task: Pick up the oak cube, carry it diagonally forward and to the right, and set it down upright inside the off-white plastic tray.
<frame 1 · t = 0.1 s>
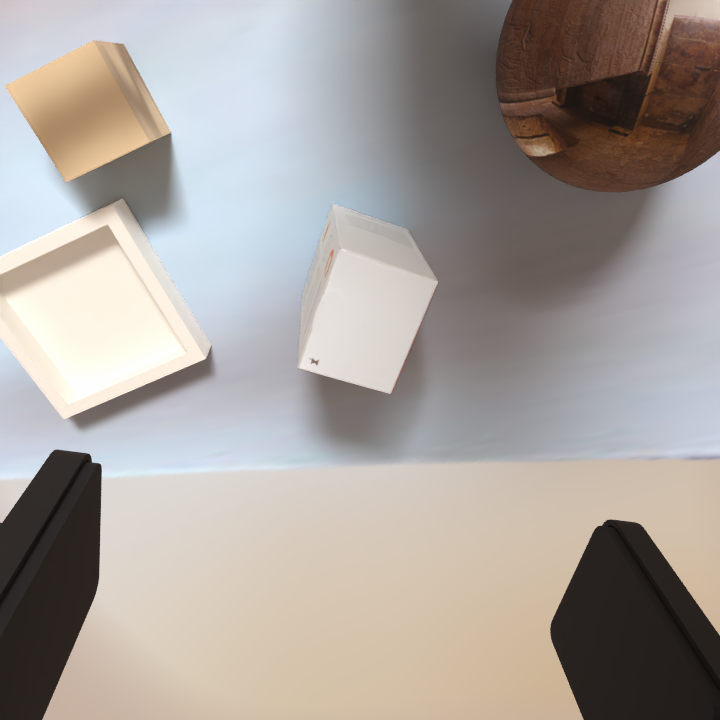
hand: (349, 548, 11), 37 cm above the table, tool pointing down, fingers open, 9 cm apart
small box: (354, 262, 47), on the table
tray: (97, 308, 48), on the table
wooden sphere: (577, 60, 42), on the table
cube: (110, 108, 42), on the table
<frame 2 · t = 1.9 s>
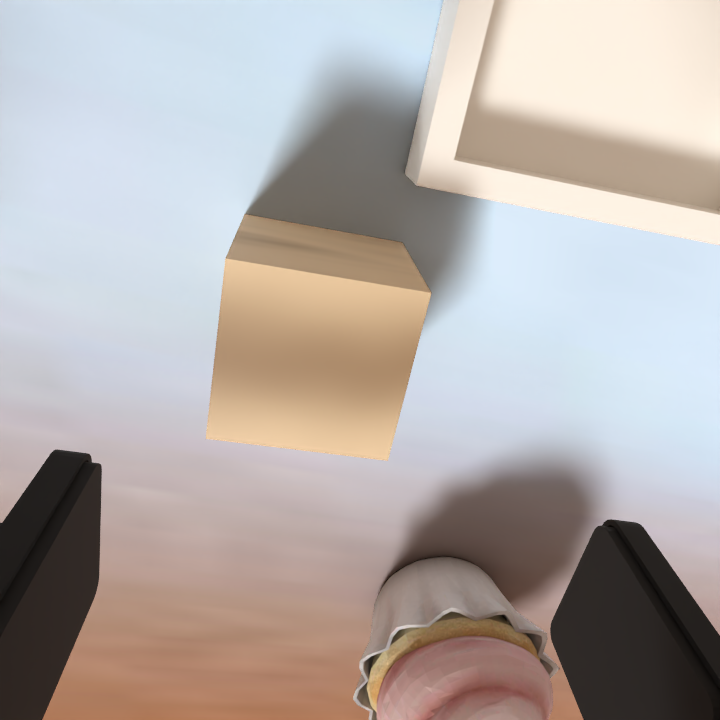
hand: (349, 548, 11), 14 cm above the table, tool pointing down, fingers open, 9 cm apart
tray: (634, 14, 20), on the table
cupcake: (435, 595, 32), on the table
cube: (312, 302, 24), on the table
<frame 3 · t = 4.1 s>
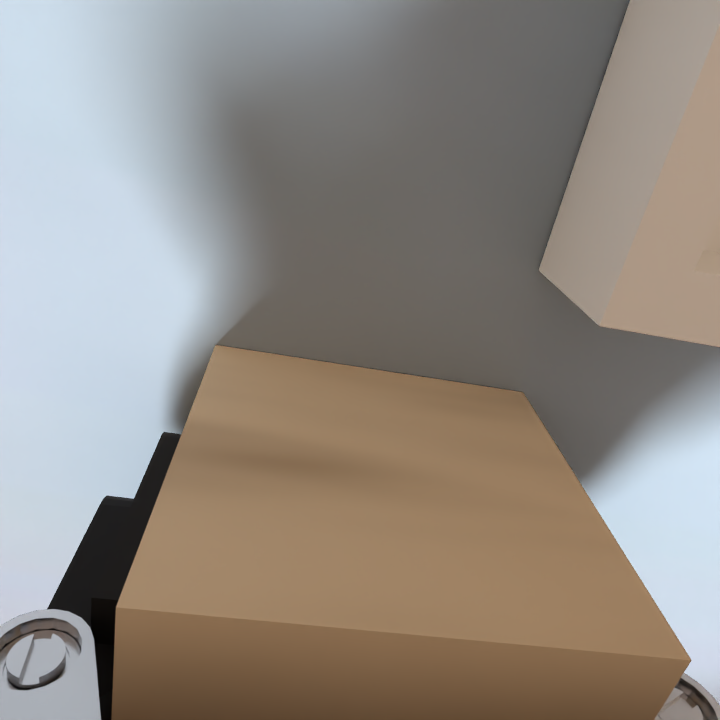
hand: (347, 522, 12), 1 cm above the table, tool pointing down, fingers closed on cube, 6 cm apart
cube: (345, 494, 13), on the table, touching gripper
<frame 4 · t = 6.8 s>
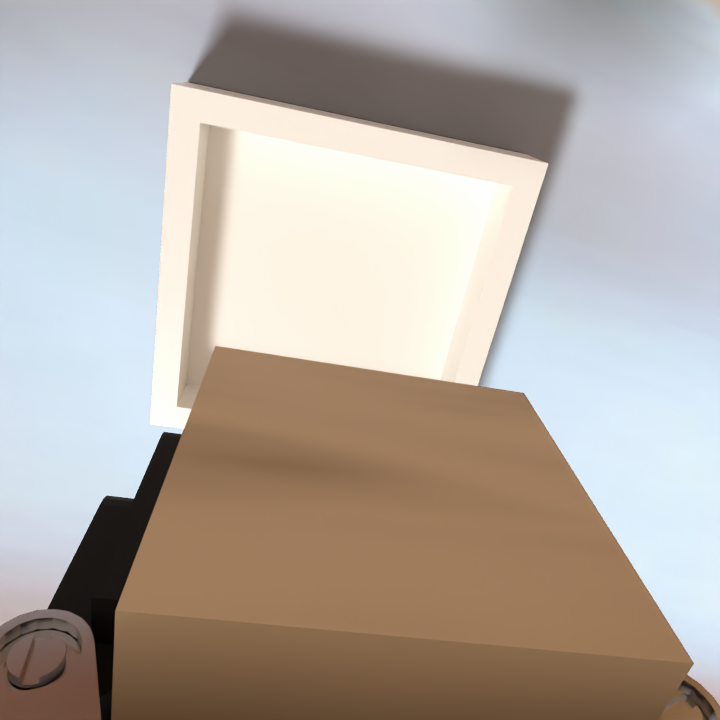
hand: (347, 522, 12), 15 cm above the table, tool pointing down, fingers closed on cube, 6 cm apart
tray: (332, 282, 25), on the table
cube: (345, 495, 13), point 14 cm above the table, touching gripper
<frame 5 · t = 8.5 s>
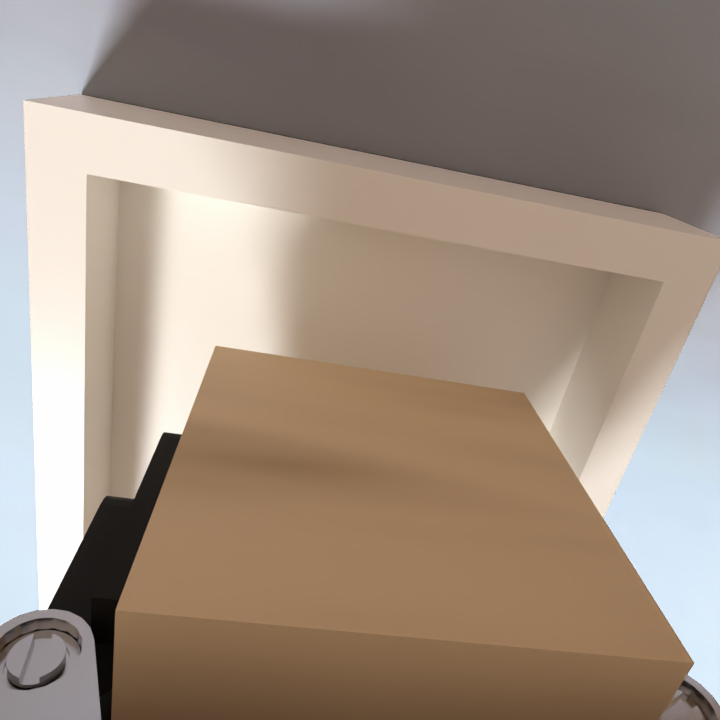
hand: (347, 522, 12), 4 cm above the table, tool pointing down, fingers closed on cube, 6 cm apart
tray: (337, 412, 16), on the table
cube: (345, 495, 13), point 3 cm above the table, touching gripper
when the fingers open (3 cm above the table, at t = 9.8 s): cube drops 1 cm, resting on tray.
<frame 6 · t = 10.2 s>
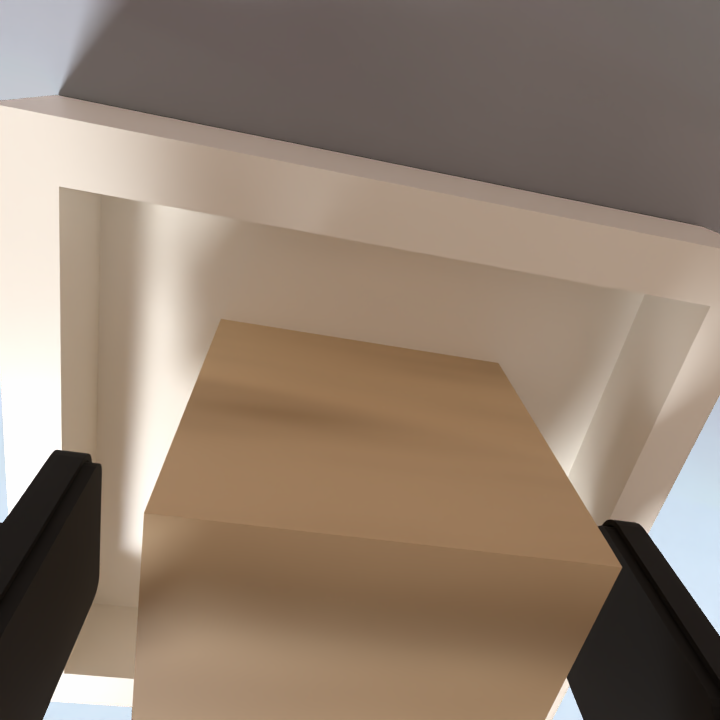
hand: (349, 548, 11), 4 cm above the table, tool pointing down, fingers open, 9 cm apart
tray: (342, 441, 15), on the table
cube: (338, 457, 14), point 1 cm above the table, touching tray
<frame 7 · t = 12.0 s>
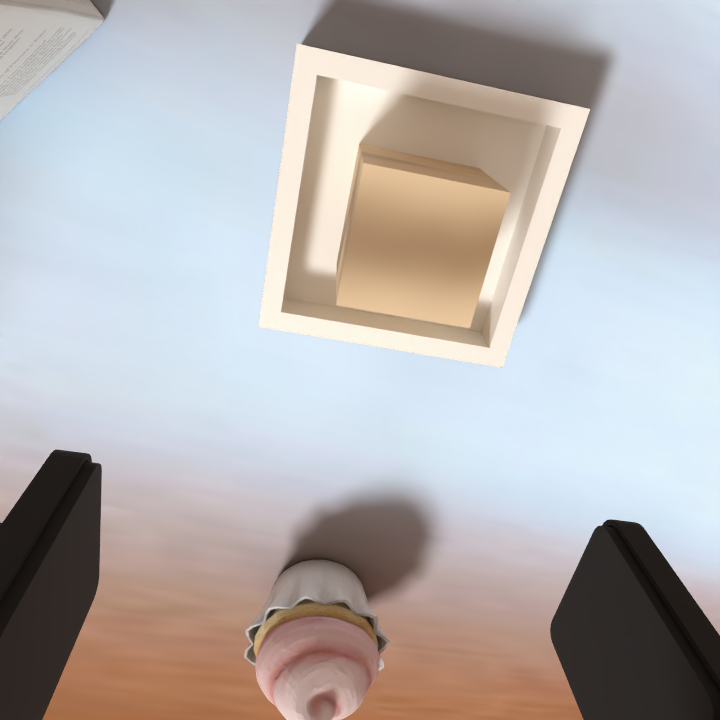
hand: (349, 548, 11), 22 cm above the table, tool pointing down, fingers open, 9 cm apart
tray: (406, 213, 31), on the table
cupcake: (319, 587, 43), on the table
cube: (405, 217, 30), point 1 cm above the table, touching tray
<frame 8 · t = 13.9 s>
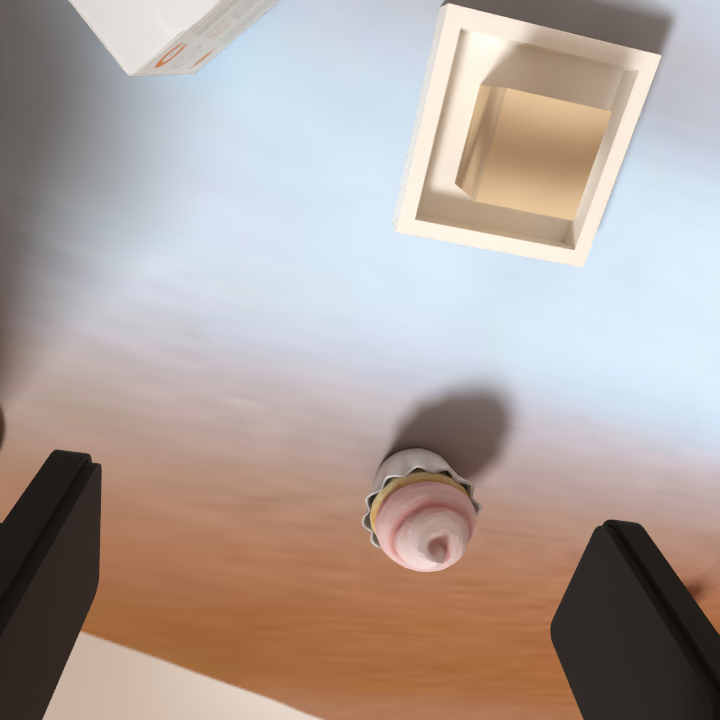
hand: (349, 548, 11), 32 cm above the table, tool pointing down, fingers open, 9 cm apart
tray: (510, 143, 39), on the table
cupcake: (413, 475, 51), on the table
cube: (511, 145, 39), point 1 cm above the table, touching tray
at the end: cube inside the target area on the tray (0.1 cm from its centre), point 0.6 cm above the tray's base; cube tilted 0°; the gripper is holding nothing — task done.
